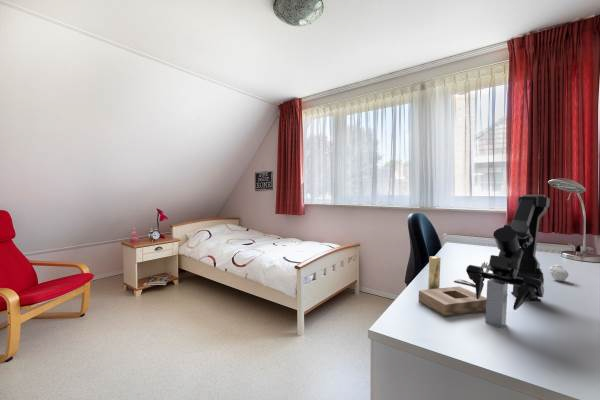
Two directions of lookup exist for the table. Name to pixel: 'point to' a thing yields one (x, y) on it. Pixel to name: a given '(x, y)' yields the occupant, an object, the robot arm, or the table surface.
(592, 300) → the table surface
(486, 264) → the caliper
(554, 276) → the crumpled paper ball
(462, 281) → the usb flash drive
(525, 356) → the table surface
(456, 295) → the bore block
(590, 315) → the table surface
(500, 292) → the grey rectangular block
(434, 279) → the brass pin
